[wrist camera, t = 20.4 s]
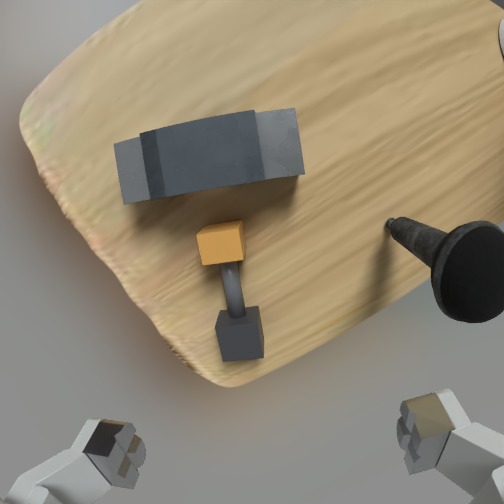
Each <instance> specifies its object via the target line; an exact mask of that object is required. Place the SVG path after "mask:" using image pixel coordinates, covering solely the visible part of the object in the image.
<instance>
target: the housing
mask: <svg viewBox="0 0 504 504" xmlns="http://www.w3.org/2000/svg"><path fill="white" fill-rule="evenodd" d="M114 150H115V157H116V163H117V170H118V175H119V181H120V187H121V192H122V198H123V203H124V205H125V204H130V203H135V202H139V201H144V200H149V199H151V200H154V199H159V198H164V197H169V196H175V195H180V194H185V193H191V192H197V191H202V190H208V189H214V188H220V187H226V186H232V185H239V184H245V183H252V182H259V181H265V180H266V179H273V178H280V177H288V176H296V175H304V174H305V171H304V164H303V157H302V150H301V143H300V137H299V130H298V124H297V118H296V112H295V108H289V109H281V110H273V111H265V112H258V113H255V111H254V110H250V111H244V112H237V113H231V114H226V115H220V116H215V117H209V118H204V119H199V120H194V121H190V122H185V123H181V124H176V125H172V126H168V127H163V128H159V129H155V130H151V131H147V132H144V133H140V137H137V138H133V139H129V140H126V141H122V142H119V143H115V144H114Z"/></svg>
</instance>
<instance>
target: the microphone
mask: <svg viewBox="0 0 504 504" xmlns="http://www.w3.org/2000/svg"><path fill="white" fill-rule="evenodd" d="M386 226H387V228H388V229H390V230H391V235H392V237H393V238H394V239H395V240H396V241H397V242H398V243H400V244H401V245H402V246H403V247H405V248H406V249H407V250H409V251H410V252H411V253H412V254H414V255H415V256H416V257H417V258H419V259H420V260H421V261H422V262H424V263H425V264H426V265H427V266H429V267H430V268H431V283H432V288H433V291H434V296H435V299H436V302H437V304H438V306H439V308H440V309H441V310H442V312H443V313H444V314H445V315H447V316H448V317H449V318H452V319H454V320H457V321H463V322H467V323H482V322H486V321H488V320H491V319H493V318H495V317H496V316H498V315H499V314H501V313H502V312H503V310H504V232H503V231H502V230H501V229H500V228H499V227H498V226H496V225H495V224H493V223H491V222H488V221H474V222H470V223H467V224H464V225H461V226H458V227H457V228H455V229H454V230H452V231H451V232H449V233H446V232H443V231H441V230H438V229H436V228H433V227H430V226H428V225H425V224H422V223H420V222H417V221H414V220H412V219H409V218H406V217H399V218H397V219H394V218H390V219H388V220H387V222H386Z"/></svg>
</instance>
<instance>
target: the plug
mask: <svg viewBox="0 0 504 504" xmlns="http://www.w3.org/2000/svg"><path fill="white" fill-rule="evenodd" d="M196 236H197V241H198V246H199V251H200V256H201V261H202V265H209V264H217V263H219V264H220V269H221V274H222V279H223V284H224V289H225V294H226V299H227V304H228V309H229V310H220V312H219V315H218V319H217V322H216V325H215V329H216V333H217V338H218V342H219V346H220V350H221V354H222V358H223V362H225V361H237V360H247V359H257V358H264V336H263V330H262V324H261V318H260V312H259V306H254V307H246V308H245V305H244V299H243V294H242V288H241V283H240V277H239V272H238V266H237V261H238V260H244V256H245V252H246V242H245V236H244V229H243V223H242V220H239V221H232V222H225V223H219V224H213V225H206V226H204V227H203V228H202V229H201V231H200V232H199V233H198V234H197V235H196Z"/></svg>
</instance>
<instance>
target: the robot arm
mask: <svg viewBox="0 0 504 504" xmlns="http://www.w3.org/2000/svg"><path fill="white" fill-rule="evenodd" d="M499 37H500V44H501V48H502V51H503V55H504V18H503V20H502V21H501V23H500V28H499ZM400 412H401V415H402V416H401V417H400V418H399V419H398V422H397V438H398V442H399V445H400V448H402V449H403V450H405V451H406V454H405V457H404V460H405V463H406V466H407V469H408V472H409V475H411V474H415V473H418V472H422V471H426V470H429V469H432V468H435V467H436V470H438V471H439V472H441V473H442V474H443V475H444V476H446V477H447V478H448V479H450V480H451V481H452V482H454V483H455V484H456V485H458V486H459V487H461V488H462V489H463V490H465V491H466V492H467V493H469V494H470V495H472V496H473V497H474V499H473V500H472V501H471V502H470V504H504V435H502V434H500V433H498V432H495V431H493V430H491V429H489V428H487V427H485V426H482V425H481V424H478V423H476V422H474V423H471V422H470V420H469V419H468V417H467V415H466V414H465V412H464V410H463V409H462V407H461V405H460V404H459V402H458V400H457V399H456V397H455V396H454V394H453V392H452V391H451V390H450V389H449V388H447V389H444V390H440V391H437V392H434V393H430V394H427V395H423V396H420V397H416V398H413V399H409V400H405V401H403V402H402V403H401V406H400ZM135 432H136V429H135V427H134V426H133V424H132V423H128V422H120V421H113V420H106V419H98V418H90V419H88V420H87V422H86V424H85V425H84V427H83V428H82V430H81V432H80V433H79V435H78V437H77V438H76V440H75V442H74V443H73V445H72V447H71V448H70V450H68V449H66V450H64V451H63V452H61V453H59V454H57V455H55V456H54V457H52V458H50V459H49V460H47V461H45V462H43V463H42V464H40V465H38V466H36V467H35V468H33V469H31V470H29V471H27V472H26V473H24V474H22V475H20V476H19V477H18V479H17V480H16V482H15V483H14V485H13V487H12V488H11V490H10V492H9V493H8V495H7V497H6V498H5V500H2V499H0V504H93V503H94V502H95V501H96V500H97V499H98V498H100V497H101V496H102V495H103V494H104V493H105V492H107V491H108V490H109V489H110V488H111V487H112V486H116V487H122V488H128V489H134V487H135V484H136V482H137V479H138V476H139V473H138V470H137V468H139V467H140V466H141V465H143V463H144V460H145V456H146V454H145V453H146V449H145V445H144V443H143V441H142V439H141V438H139V437H138V436H136V435H135Z"/></svg>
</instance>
